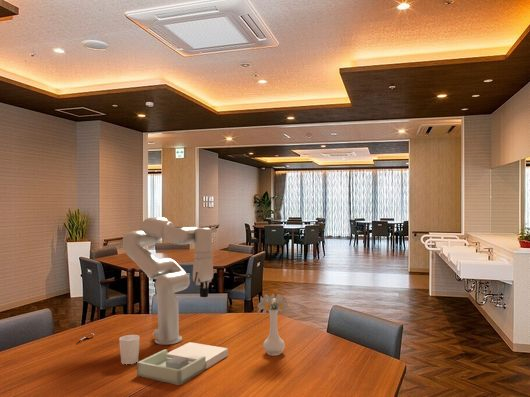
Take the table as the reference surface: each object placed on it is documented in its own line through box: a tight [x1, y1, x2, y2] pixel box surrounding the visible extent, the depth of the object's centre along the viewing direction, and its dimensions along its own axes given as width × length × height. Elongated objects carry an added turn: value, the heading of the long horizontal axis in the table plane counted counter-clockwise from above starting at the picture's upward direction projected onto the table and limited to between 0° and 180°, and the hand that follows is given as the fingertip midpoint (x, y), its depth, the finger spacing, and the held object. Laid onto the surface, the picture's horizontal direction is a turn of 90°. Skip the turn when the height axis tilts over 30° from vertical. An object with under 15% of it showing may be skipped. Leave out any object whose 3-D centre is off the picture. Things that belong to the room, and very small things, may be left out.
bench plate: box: [167, 341, 229, 370], centre depth 177 cm, size 20×16×3 cm
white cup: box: [118, 334, 140, 366], centre depth 174 cm, size 8×8×10 cm
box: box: [136, 349, 207, 386], centre depth 163 cm, size 20×16×5 cm
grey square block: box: [166, 357, 188, 369], centre depth 164 cm, size 6×6×3 cm
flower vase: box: [257, 293, 288, 357], centre depth 183 cm, size 13×18×25 cm
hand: (204, 296), depth 189 cm, fingers closed
